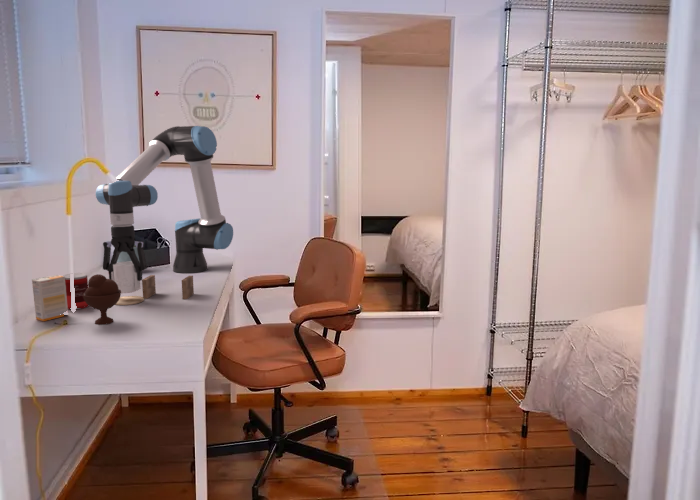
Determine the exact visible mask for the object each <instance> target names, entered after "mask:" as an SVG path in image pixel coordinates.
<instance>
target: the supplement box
mask: <svg viewBox="0 0 700 500" xmlns="http://www.w3.org/2000/svg"><path fill="white" fill-rule="evenodd" d="M31 285H32V294H33V302H34V311H35V313H34V314H35V319H36V320H38V321H40V322H46V321H50V320H53V319H58V318H62V317H65V316H64V314H63V313H64V312H66V311H67V310H68V311H69V309H68V306H67V295H66V285H65V277H64V276H63V275H60V274H54V275H49V276H48V275H47V276H44V277H38V278H33V279H31ZM60 314H61V315H60Z"/></svg>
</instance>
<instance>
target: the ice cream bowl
mask: <svg viewBox="0 0 700 500" xmlns="http://www.w3.org/2000/svg"><path fill="white" fill-rule="evenodd" d="M121 294H122V293H121V290H119V289H118V285H117V283H116V282H115V281H113V280H111V279H109V278H107V277H106V276H105V275H103V274H97V273H96V274H93V275H92V276H91V277H90V278H89V279H88V288H87V289H86V291H85V293H83V298H84V301H85V302H86V304H88V305H89V306H88V307H90V308H92V309H94V310H97V311H99V312H100V317H98V318H97V319H96V320H95V321H94V324H95V325H99V326H100V325H101V326H102V325H103V326H104V325H110V324H112V323H114V319H113V318H112V317H109V316H108V313H107V311H108V309H110V308H112V307H114V306H116V305H115V304H116V303H117V302H118V301H119V299H120V297H121Z"/></svg>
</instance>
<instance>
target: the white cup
mask: <svg viewBox="0 0 700 500" xmlns="http://www.w3.org/2000/svg"><path fill="white" fill-rule="evenodd" d="M113 271H114V280H115V282H116V283H117V285H118V289H119V290H121V294H130V293H134V292H136V291H138V290H135V279H134V272H135V271H136V269H135V267H134V264H133V263H132V262H118V263H116V264H113Z"/></svg>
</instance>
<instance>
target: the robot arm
mask: <svg viewBox="0 0 700 500" xmlns="http://www.w3.org/2000/svg"><path fill="white" fill-rule="evenodd" d="M217 146H218V143H217V138H216V135H215V133H214V132H213V131H212V130H211V129H210V128H209V127H207V126H206V125H205V126H201V125H188V126H187V125H186V126H185V125H183V126H179V125H177V126H172V127H170V128H166V129H165V130H164V131H162V132H160V133H159V134H157V135H156V136H155V137H154V138H153V139H152V140H151V141H150V142H149V143H148V147H147V148H146V149H145V150H144V151H143V152H141V153H140V154H139V155H138V156H137V157H136V158H135V159H134V160H133V161H132V162H131V163H130V164H129V165H127V167H125V168H124V169H123V170H122V171H121V172H120V173H119V174H118V175H117V176H116V177H115V178H116V179H117V180H119V181H116V182H114V183H109V182H108V183H104V184H100V185H98V186H97V187H96V189H95V198H96V199H97V202H99V203H100V204H102V205H106V206H107V205H108V206H109V217H110V218H109V219H110V225H111V227H110V233H111V240H110V241H109V240H108V241H104V242H103V243H102V246H103V263H102V270H103V271H104V270H105V271H107V272H108V279H111V280H113V281H115V280H114V271H113V264H116V263H117V260H118V257H119V254H120V253H121V252H127V254H128V255H129V256H130V259H131V261H132V263H133V264H134V267H135V269H136V271H135V272H134V279H135V290H137V291H140V290H141V289H142V288H141V282H142V280H143V271H146V270H147V269H148V265H147V264H148V263H147V260H146V259H147V258H146V254H145V250H144V247H145V242H144V241H137V240H136V238H135V237H136V236H135V235H136V234H135V226H134V223H135V222H134V221H135V218H134V208H135V207H148V206H151V205H154V204H155V203H156V202H157V201H158V197H159V196H158V190H157V189H156V187H155V186H153V185H150V184H142V185H141V183H142V182H143V181H144V180H145V179H146V178H147V177H148V176H149V175H150V174H151V173H152V172H154V171H155V169H156V168H157V167H158V166H159V165H160V164H161V163H163V162H164V161H168V160H169V159H170V158H171V157H174V156H183V157H184V161H185V163H187V164H188V165H189V166H190V173H191V177H192V181H193V186H194V191H195V196H196V200H197V207H198V209H199V210H198V211H199V213H200V218H190V219H183V220H178V221H176V222H175V225H174V232H175V233H174V234H175V257H174V261H173V264H172V271H173V272H175V273H178V274H179V273H180V274H193V273H200V272H205V271H208V269H209V268H208V267H209V266H208V262H207V260H206V257H205V254H204V249H209V250H210V249H211V250H217V251H218V250H225V249H227V248H229V246H230V245H231V244H232V241H233V238H234V228H233V226H232V225H231V224H230V223H228V222H227V220H226V216H224V215H222V212H221V207H220V202H219V199H218V198H219V197H218V193H217V187H216V182H215V177H214V173H213V168H212V160H213V158H214V154H216V152H217ZM134 245H136V247H137V251H138V256H139V260H138V258H137V256H136V254H135V250H134V248H133V247H134ZM111 247H113V248H114V250H113V252H111V250H112V249H111ZM111 253H112V254H113V255H112V256H111Z"/></svg>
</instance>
